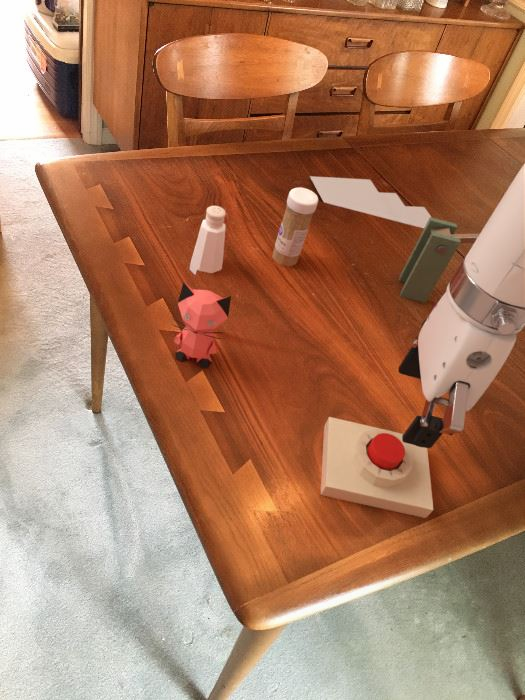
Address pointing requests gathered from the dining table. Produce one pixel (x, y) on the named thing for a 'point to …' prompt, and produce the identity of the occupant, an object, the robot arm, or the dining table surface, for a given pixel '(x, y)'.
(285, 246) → the sprinkles bottle
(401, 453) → the button
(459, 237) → the lever
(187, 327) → the cat figurine
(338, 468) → the control block
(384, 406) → the dining table surface
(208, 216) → the pepper shaker
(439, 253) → the bracket
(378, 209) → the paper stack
